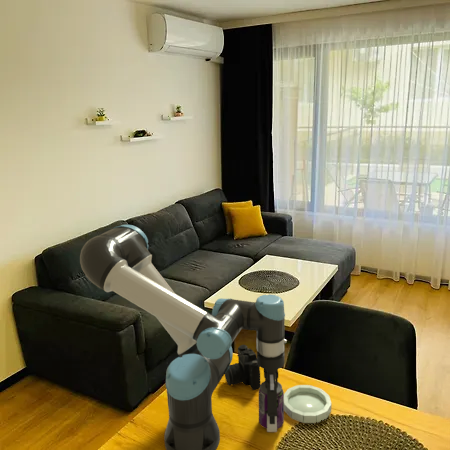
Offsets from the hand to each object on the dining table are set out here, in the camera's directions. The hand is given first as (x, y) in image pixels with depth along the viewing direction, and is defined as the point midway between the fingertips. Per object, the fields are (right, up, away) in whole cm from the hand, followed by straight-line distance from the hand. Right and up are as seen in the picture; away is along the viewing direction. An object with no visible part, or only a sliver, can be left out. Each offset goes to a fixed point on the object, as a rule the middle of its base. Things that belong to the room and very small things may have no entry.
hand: (271, 421), depth 125 cm
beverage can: (0, -1, 0) cm, 1 cm away
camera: (-8, +4, +20) cm, 22 cm away
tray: (+11, +2, +6) cm, 13 cm away
